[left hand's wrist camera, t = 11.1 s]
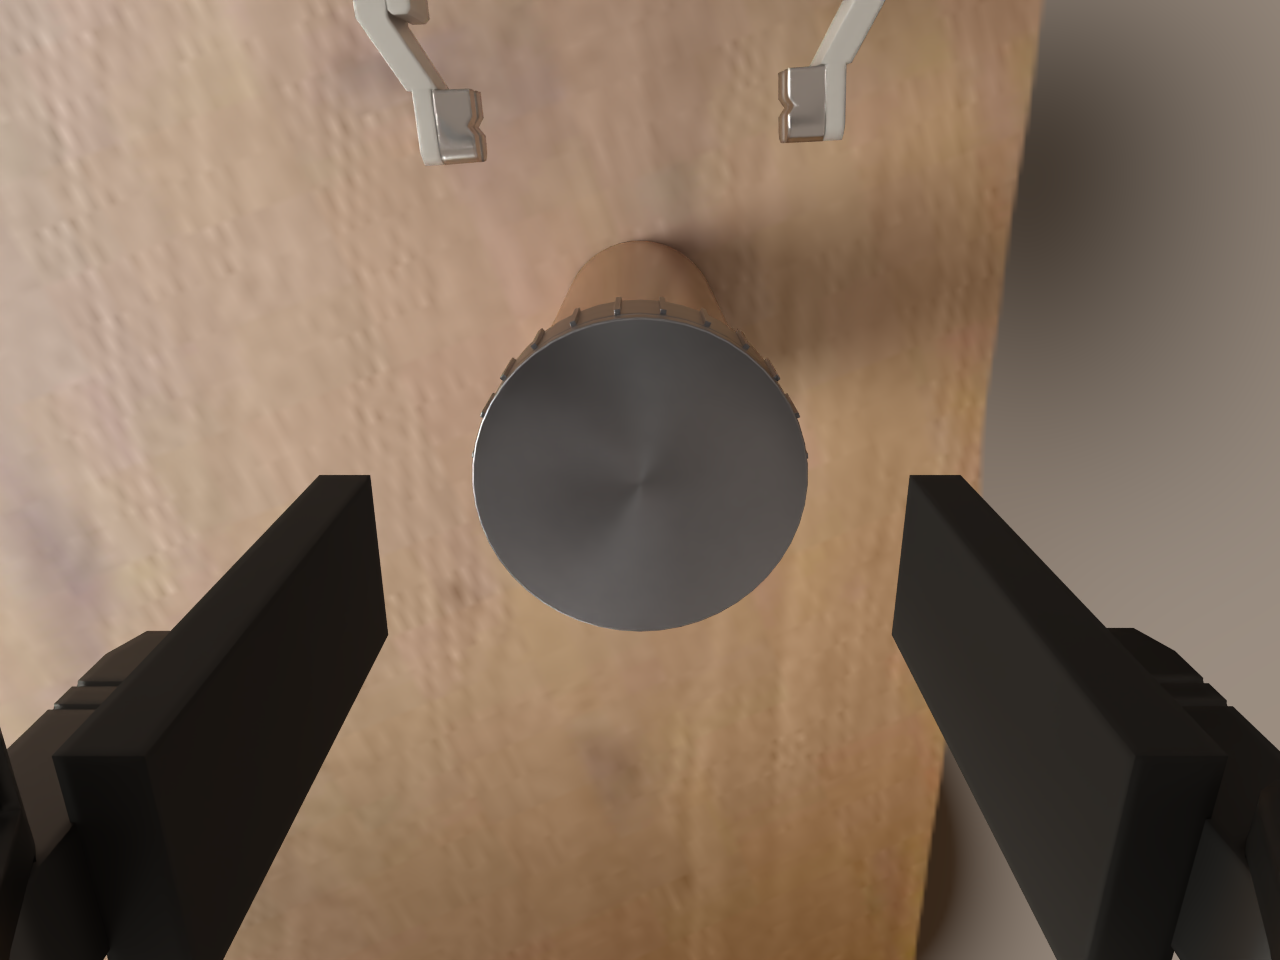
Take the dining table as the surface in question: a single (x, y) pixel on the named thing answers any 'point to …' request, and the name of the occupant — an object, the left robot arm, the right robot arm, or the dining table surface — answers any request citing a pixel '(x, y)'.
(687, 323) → the lid
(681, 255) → the jar
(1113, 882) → the left robot arm
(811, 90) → the right robot arm
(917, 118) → the dining table surface
